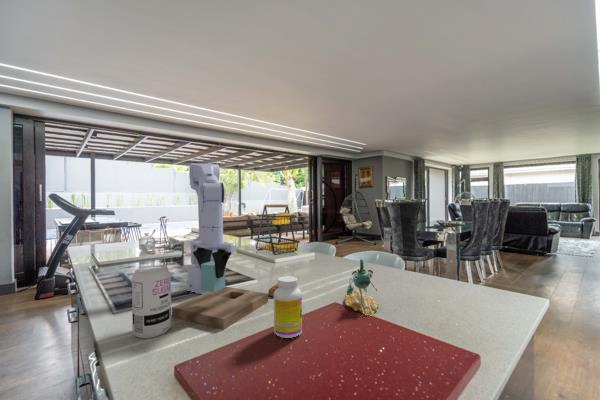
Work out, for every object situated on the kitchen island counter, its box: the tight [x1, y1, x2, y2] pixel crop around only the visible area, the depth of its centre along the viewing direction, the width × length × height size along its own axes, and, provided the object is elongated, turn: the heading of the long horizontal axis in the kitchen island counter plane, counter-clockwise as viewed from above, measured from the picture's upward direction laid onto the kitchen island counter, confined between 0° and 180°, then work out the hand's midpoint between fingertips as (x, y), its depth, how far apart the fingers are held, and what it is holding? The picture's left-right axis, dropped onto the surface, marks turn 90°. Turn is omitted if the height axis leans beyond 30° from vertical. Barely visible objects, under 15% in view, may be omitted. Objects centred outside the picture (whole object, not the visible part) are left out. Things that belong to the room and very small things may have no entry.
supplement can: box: [131, 265, 172, 339], centre depth 68 cm, size 8×8×15 cm
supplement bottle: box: [273, 275, 303, 339], centre depth 67 cm, size 7×7×13 cm
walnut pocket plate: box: [171, 286, 269, 330], centre depth 82 cm, size 18×20×2 cm
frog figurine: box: [343, 258, 380, 317], centre depth 84 cm, size 10×18×15 cm, turn 2°
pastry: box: [267, 282, 279, 298], centre depth 95 cm, size 9×7×4 cm
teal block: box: [201, 261, 226, 292], centre depth 78 cm, size 4×4×7 cm
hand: (212, 276), depth 78 cm, fingers closed on teal block, 4 cm apart
